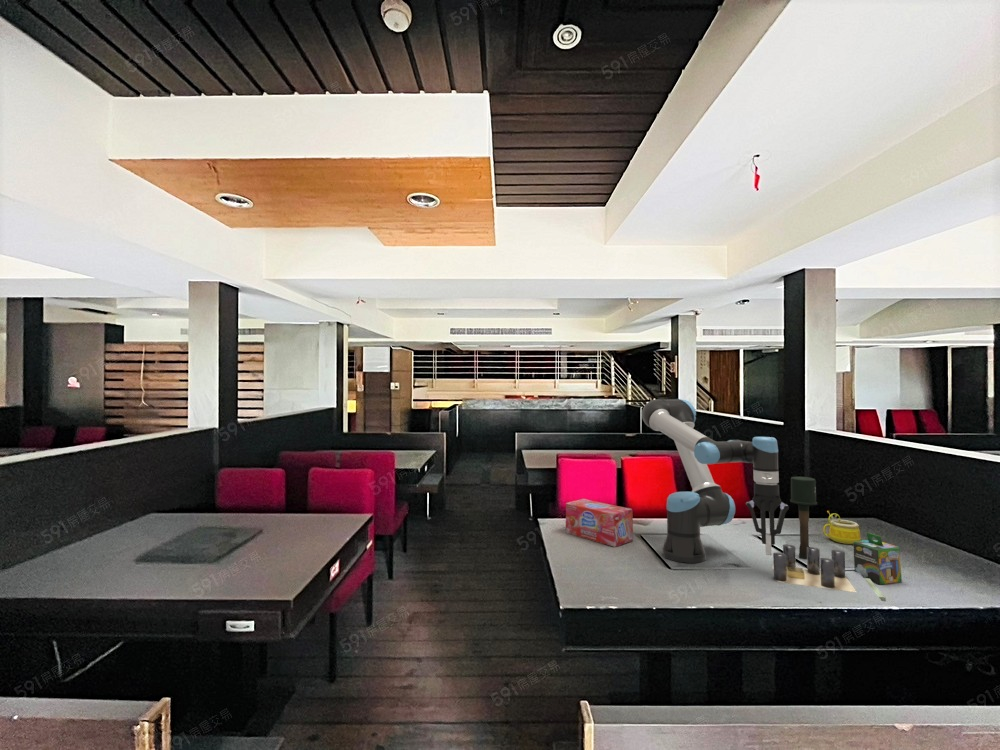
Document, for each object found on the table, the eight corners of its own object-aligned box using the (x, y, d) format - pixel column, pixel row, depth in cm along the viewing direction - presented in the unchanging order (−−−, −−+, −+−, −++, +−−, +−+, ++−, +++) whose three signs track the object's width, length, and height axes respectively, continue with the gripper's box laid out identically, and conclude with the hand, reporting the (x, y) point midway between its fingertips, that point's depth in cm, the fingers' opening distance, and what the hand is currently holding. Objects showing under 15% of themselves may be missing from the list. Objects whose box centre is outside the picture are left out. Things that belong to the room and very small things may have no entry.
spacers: (774, 580, 157) (773, 555, 157) (769, 565, 170) (769, 542, 171) (855, 591, 148) (854, 564, 149) (843, 574, 162) (843, 550, 162)
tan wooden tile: (788, 577, 160) (788, 570, 160) (786, 572, 164) (786, 566, 164) (804, 579, 158) (804, 573, 158) (802, 574, 162) (802, 568, 162)
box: (564, 533, 215) (564, 501, 216) (583, 527, 223) (583, 497, 224) (614, 548, 194) (614, 513, 195) (634, 541, 202) (634, 508, 203)
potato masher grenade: (823, 565, 174) (821, 480, 175) (796, 563, 176) (794, 479, 177) (812, 557, 183) (811, 476, 184) (787, 555, 185) (785, 475, 186)
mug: (859, 540, 204) (859, 511, 204) (862, 547, 194) (861, 517, 195) (823, 535, 211) (822, 507, 211) (823, 542, 201) (822, 512, 202)
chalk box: (902, 583, 158) (901, 537, 159) (880, 585, 156) (878, 539, 157) (874, 572, 167) (873, 529, 168) (853, 575, 165) (852, 530, 166)
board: (777, 586, 156) (777, 581, 156) (772, 569, 171) (772, 565, 171) (885, 601, 145) (885, 596, 145) (869, 581, 159) (869, 577, 159)
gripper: (745, 483, 164) (747, 554, 163) (790, 486, 159) (792, 559, 158) (744, 480, 171) (746, 548, 170) (786, 482, 166) (789, 553, 165)
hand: (768, 553), depth 164 cm, fingers closed
